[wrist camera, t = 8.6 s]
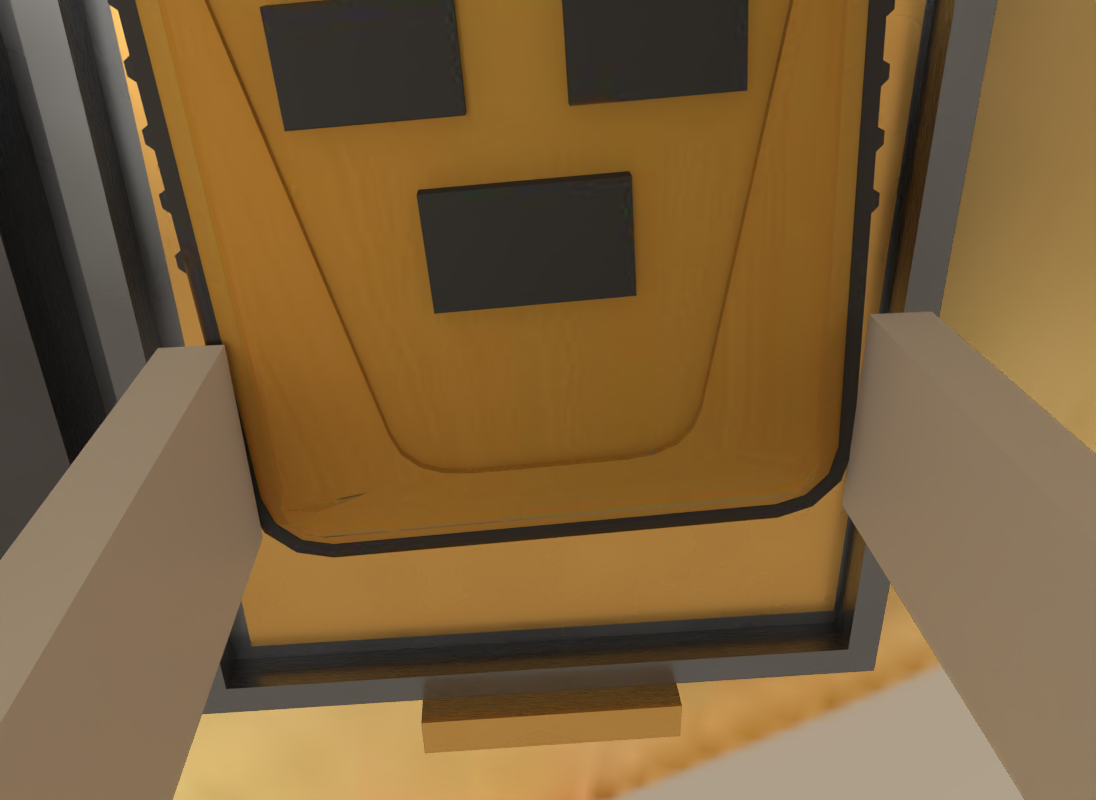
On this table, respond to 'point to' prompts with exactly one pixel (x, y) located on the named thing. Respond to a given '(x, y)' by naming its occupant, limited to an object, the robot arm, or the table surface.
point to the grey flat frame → (465, 571)
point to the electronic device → (522, 254)
